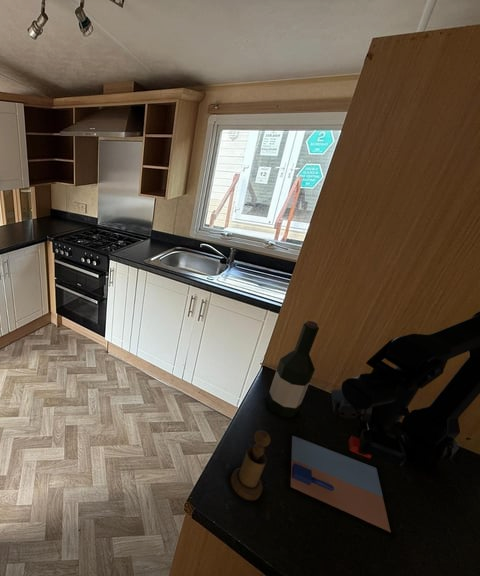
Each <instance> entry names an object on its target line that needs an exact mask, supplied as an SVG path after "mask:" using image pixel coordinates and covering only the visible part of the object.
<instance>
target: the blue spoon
mask: <svg viewBox="0 0 480 576" xmlns="http://www.w3.org/2000/svg"><path fill="white" fill-rule="evenodd" d="M292 478H293V479H296V480H298V481H300V482H302V483H305V484H307V485H309V486H310V484H311V482H312V483H315V484H317V485H319V486H322V487H324V488H326V489H328V490H331V491H333V490H334V487H333V486H332V485H330V484H328V483H326V482H323V481H321V480H319V479H317V478H314V477H312V470H310V469H308V468H305V467H303V466H300V465H298V464H296V463H294V465H293V467H292Z"/></svg>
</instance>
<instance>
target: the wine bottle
mask: <svg viewBox="0 0 480 576" xmlns="http://www.w3.org/2000/svg"><path fill="white" fill-rule="evenodd" d="M319 329H320V327H319V324H318V323H317V322H315V321H312V320H307V321H306V322H305V323H304V324H303V325H302V328H301V331H300V333H299V336H298V339H297V341H296V343H295V344H296V345H295V347H294V349H293V350H291V351H290V352H288V353H287V354H285V355H284V356H282V357H281V358H279V362H278V364H277V367H276V371H275V373H274V376H273V379H272V382H271V385H270V388H269V392H268V395H267V397H266V400H265V403H266V404H267V406H268V409H269V410H271V411H272V412H274V413H275V414H277V415H279V416H281V417H288V418H293V417H294V416H295V415H296V414H297V413H298V412H299V410H300V408H301V405H302V402H303V400H304V398H305V395H306V392H307V390H308V388H309V385H310V383H311V380H312V378H313V376H314V373H315V371H316V368H315V366H314V363H313V361H312V358H311V355H310V353H311V350H312V348H313V345H314V343H315V341H316V340H315V339H316V337H317V335H318V333H319Z"/></svg>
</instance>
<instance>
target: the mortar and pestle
mask: <svg viewBox="0 0 480 576" xmlns="http://www.w3.org/2000/svg"><path fill="white" fill-rule="evenodd" d="M253 436H254V437H253V438H254V441H255V443H254V444H253V445H252V447H249V448H248V449H247V450H246V452H245V456H244V458H243V462H242V465H241V467H237V468H235V469H234V470H233V471H232V474H231V476H230V485H231V487H232V489H233V491H234V492H235V493H236V494H237V495H238V496H240V497H241V498H242V499H244V500H248V501H256V500H258V499H260V497H261V495H262V492H263V488H264V486H263V482H262V479H261V476H262V474H263V471H264V468H265V466H266V464H267V461H268V459H267V456H266V454H265V452H266V449H265V447H268V446H269V445H270V443H271V441H272V440H271V436H270V434H269V433H268V432H267V431H265V430H261V429H259V430H257V431H256V432H255V433H254V435H253Z"/></svg>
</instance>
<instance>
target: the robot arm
mask: <svg viewBox="0 0 480 576" xmlns="http://www.w3.org/2000/svg"><path fill="white" fill-rule="evenodd" d="M467 352H468V358H467V359H466V360H465V361H464V362H463V364H462V365H461V366H460V367H459V369H458V370H457V371H456V372H455V373H454V375H453V376H452V377H451V379H450V380H449V381H448V382H447V384H446V385H445V386H444V387H443V388H442V390H441V391H440V392H439V393H438V395H437V396H436V397H435V398H434V400H433V401H432V402H431V404H430V405H429V406H425V407H421V408H416V409H412V410H411V411H410V410H409V406H410V404H411V403H412V401H413V399H414V398H415V396H416V395H417V393H418V391H419V390H420V389H421V390H422V389H424V388H425V387H426V386H427V385H429V384H430V383H432V382H433V381H435V380H436V379H437V378H439V377H440V376H442V374H443V373H444V371H445V368H446V365H447V364H448V362H449V360H452V359H453V358H455V357H457V356H460V355H462V354H465V353H467ZM384 360H386V362H387V361H388V362H389V363H390V364H392V365H394V366H392V365H389V364H388V363H386V362H385V361H384ZM365 364H366V365H367V366H369V367H371V368H372V370H371V372H369V373H368V372H367V373H361V374H359V375H358V376H354V377H348V378H346V379H345V380H343V381H342V383H341V386H340V387H341V389H340V388H333V389H331V391H330V393H331V401H332V411H333V413H334V414H335V415H339V417H342V418H345V419H352V420H355V419H357V420H358V424H357V426H356V431H357V433H356V437H357V438H359V439H360V446H359V451H358V452H359V453H360V454H362V455H367V454H369V455H372V456H371V457H374V458H377V459H380V460H382V461H385V462H387V463H390V464H393V465H395V466H397V467H401V466H403V465H404V464H405V463H406V464H410V465H412V466H414V467H418V468H420V469H423V470H426V471H429V472H431V473H434V474H436V473H437V470H436V468H435V467H436V464H437V463H438V462H439V461H440V459H446V460H451V459H452V458H453V457H454V456H455V454H456V453H457V451H458V450H459V449H460V447H459V445H458V442H457V441H456V438H457V437H458V436H459V435H460V433H461V427H460V423H459V421H460V420H459V418H460V417H461V416H462V414H464V412H465V411H466V410H467V409H468V408H469V407H470V406H471V404H472V403H473V402H474V401H475V400H476V399H477V398H478V396H479V395H480V311H477V312H476V313H475V314H473V316H471V317H470V318H468V319H465V320H463V321H460V322H457V323H455V324H453V325H450V326H448V327H445V328H443V329H441V330H440V329H439V330H438V331H435V332H433V333H430V334H425V333H409V334H405V335H401V336H398V337H395V338H391V339H390V340H389V341H388V342H386V343H385V345H383V346H382V347H381V348H380V349H379V350H378V351H376V352H375V354H373V355H372V356H371V357H370V358H369V359H368V360H367V361H366V362H365ZM402 417H403V418H402ZM401 419H402V421H401V424H400V420H401ZM390 430H391V431H395V432H397V433H398V432H400V430H401V431H402V432H404V433H405V434H404V435H403V434H402V435H401V436H400V437H399V439H398V438H396V436H395V434H394V433H393V432H391V431H390ZM360 454H359V455H360ZM362 455H361V456H362Z"/></svg>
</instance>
